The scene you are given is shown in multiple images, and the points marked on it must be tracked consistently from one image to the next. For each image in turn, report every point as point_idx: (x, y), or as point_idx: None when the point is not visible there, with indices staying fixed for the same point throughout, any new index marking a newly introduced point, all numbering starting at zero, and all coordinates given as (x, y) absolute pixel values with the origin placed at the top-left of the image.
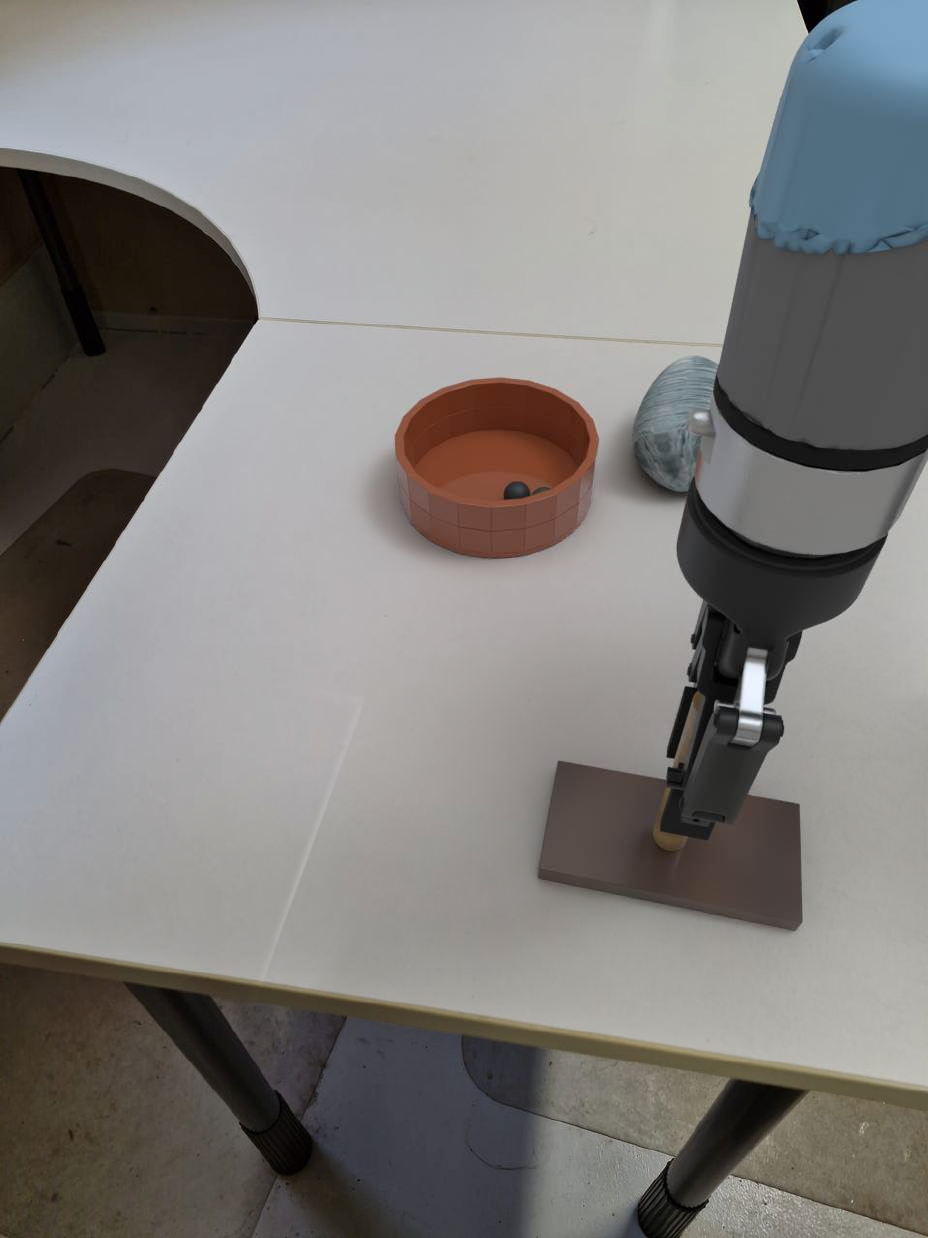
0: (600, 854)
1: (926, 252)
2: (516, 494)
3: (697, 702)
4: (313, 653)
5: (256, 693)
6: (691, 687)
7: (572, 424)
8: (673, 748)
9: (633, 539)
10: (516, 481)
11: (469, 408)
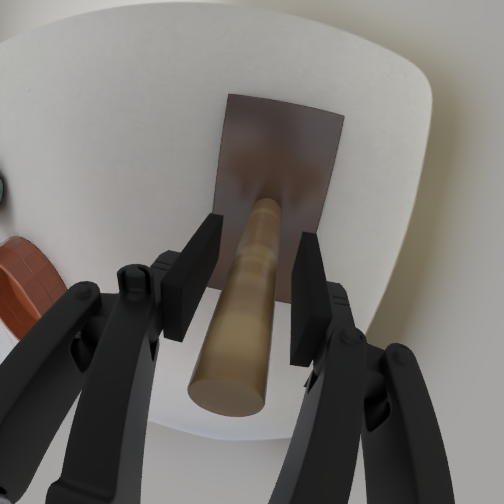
0: (284, 265)
1: None
2: None
3: (226, 414)
4: (160, 378)
5: (189, 396)
6: (163, 331)
7: None
8: (214, 266)
9: (31, 212)
10: None
11: (7, 307)
